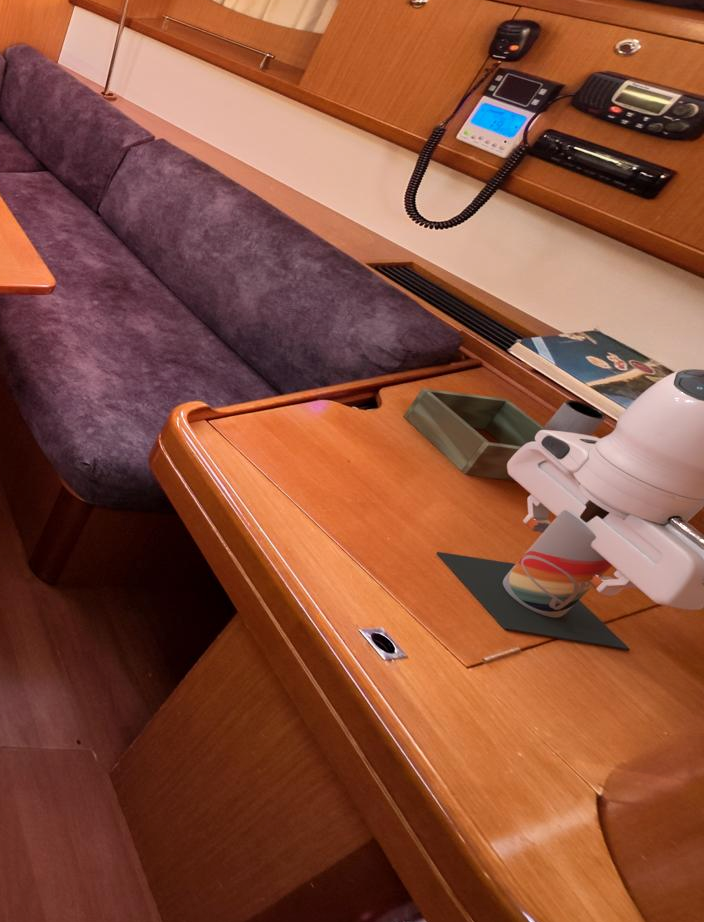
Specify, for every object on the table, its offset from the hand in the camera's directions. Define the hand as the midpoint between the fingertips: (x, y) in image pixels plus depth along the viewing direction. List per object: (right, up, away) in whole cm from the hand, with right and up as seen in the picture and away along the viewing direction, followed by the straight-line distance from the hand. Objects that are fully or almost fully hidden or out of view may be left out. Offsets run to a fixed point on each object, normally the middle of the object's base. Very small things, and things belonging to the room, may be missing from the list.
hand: (565, 557), depth 82 cm
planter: (+35, +3, +28) cm, 45 cm away
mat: (0, -8, +4) cm, 9 cm away
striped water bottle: (0, -8, +4) cm, 9 cm away
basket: (+22, +3, +28) cm, 36 cm away
